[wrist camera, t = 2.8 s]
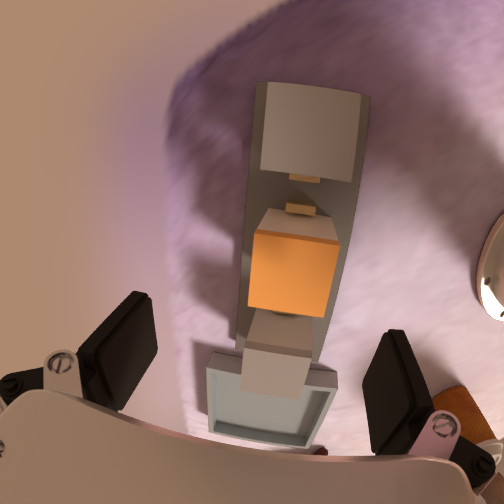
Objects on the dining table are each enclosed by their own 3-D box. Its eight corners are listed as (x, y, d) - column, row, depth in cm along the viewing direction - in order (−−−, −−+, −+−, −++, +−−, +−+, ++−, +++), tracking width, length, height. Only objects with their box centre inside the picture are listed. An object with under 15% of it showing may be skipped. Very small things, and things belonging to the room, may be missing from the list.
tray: (337, 371, 27) (338, 388, 24) (309, 434, 32) (308, 449, 29) (212, 351, 28) (206, 367, 26) (213, 418, 33) (208, 431, 31)
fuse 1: (345, 107, 17) (361, 93, 12) (338, 170, 19) (351, 182, 13) (279, 98, 18) (268, 81, 12) (273, 161, 19) (260, 169, 14)
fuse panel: (367, 98, 17) (375, 93, 15) (317, 355, 26) (317, 373, 24) (258, 84, 18) (252, 76, 16) (237, 342, 27) (231, 359, 25)
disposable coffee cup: (402, 409, 27) (416, 490, 17) (465, 365, 24) (499, 444, 13) (430, 429, 29) (443, 496, 18) (484, 393, 25) (510, 458, 14)
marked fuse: (331, 217, 20) (340, 245, 15) (320, 274, 22) (323, 317, 16) (268, 207, 21) (254, 233, 15) (262, 265, 23) (247, 305, 17)
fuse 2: (312, 310, 23) (312, 358, 18) (302, 350, 25) (298, 399, 20) (258, 301, 24) (243, 347, 18) (253, 342, 26) (239, 390, 20)
